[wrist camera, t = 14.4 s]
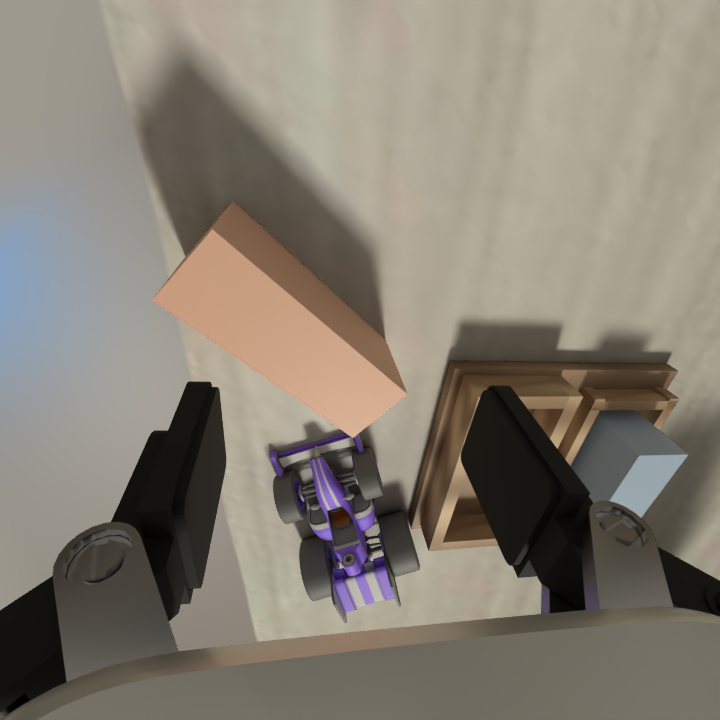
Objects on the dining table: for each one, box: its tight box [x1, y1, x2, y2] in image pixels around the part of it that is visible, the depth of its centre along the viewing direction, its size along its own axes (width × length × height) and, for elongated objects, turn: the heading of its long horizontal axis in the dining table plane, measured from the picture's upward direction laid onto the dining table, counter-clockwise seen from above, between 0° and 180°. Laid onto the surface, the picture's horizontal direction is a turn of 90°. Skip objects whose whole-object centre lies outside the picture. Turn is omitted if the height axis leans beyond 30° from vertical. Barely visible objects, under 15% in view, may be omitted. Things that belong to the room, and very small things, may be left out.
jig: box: [409, 361, 679, 551], centre depth 32 cm, size 17×18×4 cm
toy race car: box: [270, 433, 420, 623], centre depth 31 cm, size 10×15×6 cm, turn 15°
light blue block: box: [571, 410, 688, 518], centre depth 31 cm, size 10×4×5 cm, turn 173°
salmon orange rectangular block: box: [153, 201, 407, 438], centre depth 21 cm, size 12×4×6 cm, turn 43°
